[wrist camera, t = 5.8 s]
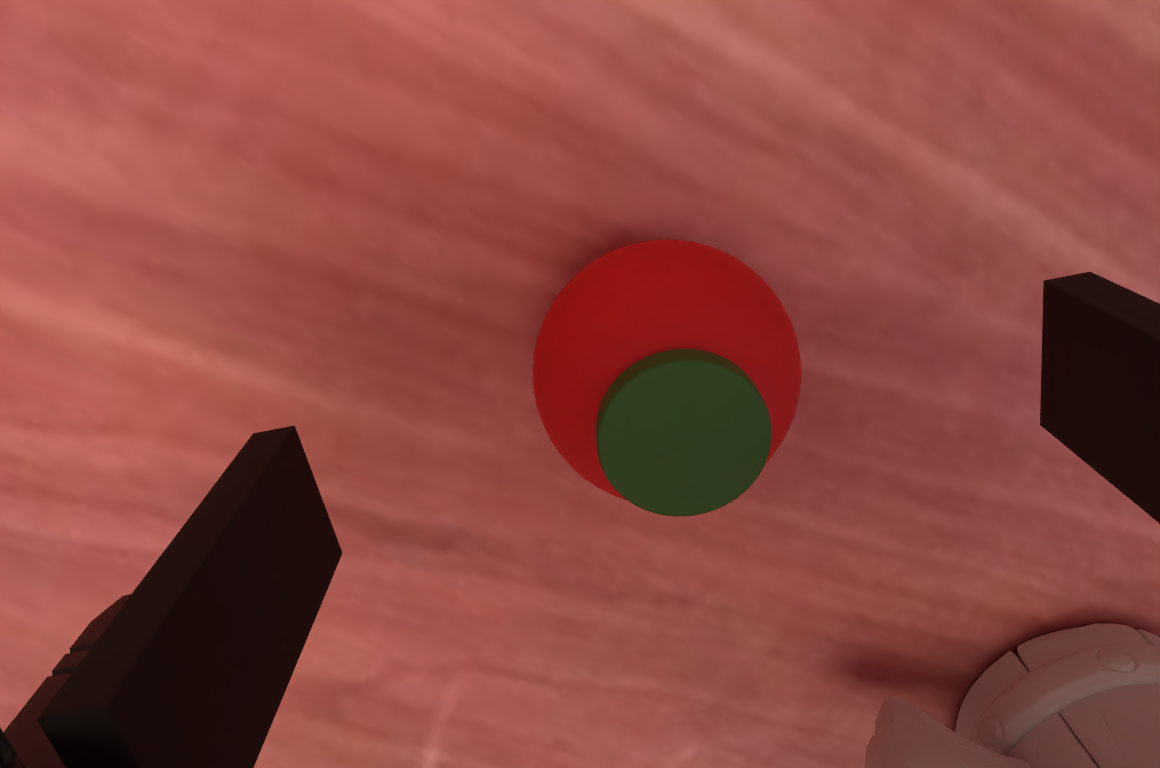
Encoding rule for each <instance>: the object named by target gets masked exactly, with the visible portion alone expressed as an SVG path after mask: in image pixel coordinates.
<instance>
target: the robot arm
mask: <svg viewBox="0 0 1160 768" xmlns="http://www.w3.org/2000/svg"><path fill="white" fill-rule="evenodd" d="M1040 425H1041V426H1042V427H1043V428H1045V429H1046V430H1047V431H1048V432H1049V433H1051V434H1052V435H1053V436H1054V437H1055V438H1057V439H1058V440H1059V441H1060V442H1061V443H1063V444H1064V445H1065V446H1066V447H1068V448H1069V449H1070V450H1071V451H1072V452H1074V453H1075V454H1076V455H1077V456H1078V457H1080V458H1081V459H1082V460H1083V461H1085V462H1086V463H1087V464H1088V465H1089V466H1091V467H1092V468H1093V469H1094V470H1095V471H1097V472H1098V473H1099V474H1100V475H1101V476H1103V477H1104V478H1105V479H1106V480H1108V481H1109V482H1110V483H1111V484H1112V485H1114V486H1115V487H1116V488H1117V489H1118V490H1120V491H1121V492H1122V493H1123V494H1125V495H1126V496H1127V497H1128V498H1129V499H1131V500H1132V501H1133V502H1134V503H1135V504H1137V505H1138V506H1139V507H1140V508H1141V509H1143V510H1144V511H1145V512H1146V513H1148V514H1149V515H1150V516H1151V517H1152V518H1154V519H1155V520H1156V521H1157V522H1158V523H1160V304H1159V303H1157V302H1155V301H1152V300H1150V299H1148V298H1146V297H1144V296H1141V295H1139V294H1137V293H1135V292H1133V291H1131V290H1128V289H1126V288H1124V287H1122V286H1120V285H1117V284H1115V283H1113V282H1111V281H1109V280H1107V279H1104V278H1102V277H1100V276H1098V275H1096V274H1094V273H1091V272H1086V273H1081V274H1076V275H1071V276H1066V277H1061V278H1055V279H1050V280H1045V281H1044V289H1043V330H1042V371H1041V412H1040ZM341 555H342V551H341V548H340V545H339V543H338V540H337V537H336V535H335V532H334V529H333V527H332V524H331V521H330V519H329V516H328V513H327V511H326V508H325V505H324V503H323V500H322V497H321V495H320V492H319V489H318V487H317V484H316V481H315V479H314V476H313V473H312V471H311V468H310V465H309V463H308V460H307V457H306V455H305V452H304V449H303V447H302V444H301V441H300V439H299V436H298V433H297V431H296V428H295V426H290V427H285V428H280V429H274V430H269V431H264V432H259V433H254V434H253V435H252V436H251V437H250V439H249V440H248V441H247V442H246V444H245V445H244V446H243V448H242V449H241V450H240V452H239V453H238V454H237V456H236V457H235V458H234V460H233V461H232V462H231V464H230V465H229V466H228V468H227V469H226V470H225V472H224V473H223V474H222V476H221V477H220V478H219V479H218V481H217V482H216V483H215V485H214V486H213V487H212V489H211V490H210V491H209V493H208V494H207V495H206V497H205V498H204V499H203V501H202V502H201V503H200V505H199V506H198V507H197V509H196V510H195V511H194V512H193V514H192V515H191V516H190V518H189V519H188V520H187V522H186V523H185V524H184V526H183V527H182V528H181V530H180V531H179V532H178V534H177V535H176V536H175V538H174V539H173V540H172V542H171V543H170V544H169V546H168V547H167V548H166V549H165V551H164V552H163V553H162V555H161V556H160V557H159V559H158V560H157V561H156V563H155V564H154V565H153V567H152V568H151V569H150V571H149V572H148V573H147V575H146V576H145V577H144V579H143V580H142V581H141V583H140V584H139V585H138V586H137V588H136V589H135V590H134V592H133V593H132V594H130V595H125V596H122V597H121V598H120V599H119V600H117V601H116V602H115V603H114V604H112V605H111V606H110V607H109V608H107V609H106V610H105V611H104V612H102V613H101V614H100V615H99V616H97V617H96V618H95V619H94V620H93V621H91V622H90V624H89V625H88V626H87V627H86V629H85V630H84V631H83V633H82V634H81V635H80V636H79V638H78V639H77V640H76V641H75V643H74V644H73V645H72V646H71V648H70V653H69V654H65V655H64V657H63V658H62V659H61V660H60V662H59V663H58V664H57V665H56V667H55V668H54V669H53V671H52V673H53V674H52V676H50V677H47V678H46V679H45V681H44V682H43V683H42V684H41V686H40V687H39V688H38V689H37V691H36V692H35V693H34V695H33V696H32V697H31V698H30V700H29V701H28V702H27V703H26V705H25V706H24V707H23V708H22V710H21V711H20V712H19V714H18V715H17V716H16V717H15V719H14V720H13V721H12V722H11V724H10V725H9V726H8V727H7V729H6V730H5V731H4V733H3V731H2V730H1V728H0V768H254V765H255V763H256V760H257V758H258V756H259V753H260V751H261V748H262V746H263V743H264V741H265V739H266V736H267V734H268V731H269V729H270V727H271V724H272V722H273V719H274V717H275V715H276V712H277V710H278V707H279V705H280V702H281V700H282V698H283V695H284V693H285V690H286V688H287V686H288V683H289V681H290V678H291V676H292V674H293V671H294V669H295V666H296V664H297V661H298V659H299V657H300V654H301V652H302V649H303V647H304V645H305V642H306V640H307V637H308V635H309V632H310V630H311V628H312V625H313V623H314V620H315V618H316V616H317V613H318V611H319V608H320V606H321V604H322V601H323V599H324V596H325V594H326V591H327V589H328V587H329V584H330V582H331V579H332V577H333V575H334V572H335V570H336V567H337V565H338V563H339V560H340V558H341Z"/></svg>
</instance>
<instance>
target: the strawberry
mask: <svg viewBox="0 0 1160 768" xmlns="http://www.w3.org/2000/svg"><path fill="white" fill-rule="evenodd" d="M800 384H801V361H800V354H799V349H798V343H797V338H796V335H795V332H794V329H793V326H792V323H791V321H790V319H789V317H788V315H787V313H786V311H785V309H784V307H783V305H782V303H781V302H780V300H779V299H778V298H777V296H776V295H775V293H774V292H773V290H772V289H771V288H770V287H769V286H768V285H767V284H766V283H765V282H764V280H763V279H762V278H761V277H760V276H759V275H757V274H756V273H755V272H754V271H753V270H751V269H750V268H749V267H748V266H746V265H745V264H744V263H742V262H741V261H739V260H738V259H736V258H734V257H732V256H731V255H729V254H727V253H725V252H722V251H720V250H718V249H715V248H713V247H710V246H706V245H702V244H698V243H695V242H689V241H681V240H652V241H644V242H639V243H635V244H631V245H627V246H624V247H621V248H619V249H616V250H614V251H612V252H609V253H607V254H605V255H604V256H602V257H600V258H598V259H597V260H595V261H593V262H592V263H590V264H589V265H588V266H586V267H585V268H584V269H582V270H581V271H580V272H579V273H578V274H577V275H576V276H575V277H574V278H573V279H572V280H571V281H570V282H569V283H568V284H567V285H566V286H565V287H564V288H563V290H562V291H561V292H560V293H559V295H558V296H557V297H556V299H555V300H554V302H553V304H552V305H551V307H550V309H549V310H548V312H547V314H546V316H545V319H544V321H543V324H542V326H541V328H540V332H539V335H538V339H537V343H536V347H535V352H534V360H533V386H534V394H535V399H536V405H537V408H538V411H539V414H540V418H541V420H542V423H543V425H544V427H545V429H546V431H547V433H548V436H549V438H550V440H551V441H552V443H553V444H554V446H555V447H556V449H557V450H558V452H559V453H560V454H561V455H562V457H563V458H564V459H565V460H566V461H567V462H568V463H569V464H570V466H571V467H572V468H573V469H574V470H575V471H576V472H578V473H579V474H580V475H581V476H582V477H583V478H585V479H586V480H587V481H589V482H590V483H592V484H593V485H595V486H596V487H598V488H600V489H602V490H604V491H606V492H608V493H610V494H612V495H614V496H616V497H619V498H622V499H625V500H627V501H630V502H631V503H633V504H634V505H636V506H638V507H640V508H642V509H644V510H647V511H650V512H653V513H657V514H661V515H667V516H692V515H699V514H703V513H707V512H710V511H713V510H716V509H718V508H720V507H722V506H724V505H726V504H728V503H730V502H731V501H733V500H735V499H736V498H738V497H739V496H740V495H741V494H742V493H744V492H745V491H746V490H747V489H748V488H749V487H750V486H751V485H752V484H753V482H754V481H755V480H756V478H757V477H758V476H759V474H760V472H761V471H762V469H763V467H764V465H765V463H766V462H767V461H768V460H769V459H770V457H771V456H772V455H773V453H774V452H775V451H776V449H777V448H778V447H779V445H780V444H781V442H782V440H783V438H784V437H785V435H786V433H787V431H788V429H789V427H790V425H791V422H792V420H793V417H794V414H795V410H796V406H797V402H798V398H799V392H800Z"/></svg>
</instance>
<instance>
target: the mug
mask: <svg viewBox="0 0 1160 768" xmlns="http://www.w3.org/2000/svg"><path fill="white" fill-rule="evenodd" d="M1017 651H1018V654H1019V657H1020V658H1019V657H1018V656H1016V655H1015V654H1014V653H1013V652H1012V651H1009V652H1007V653H1006V654H1005V655H1003V656H1002V657H1001V658H1000V659H998V660H997V661H996V662H995V663H993V664H992V665H991V666H990V667H988V668H987V669H986V670H985V671H984V672H983V674H982V675H981V676H980V677H979V678H978V679H977V681H976V682H975V683H974V684H973V685H972V687H971V688H970V689H969V691H968V693H967V695H966V696H965V698H964V700H963V702H962V705H961V708H960V711H959V714H958V717H957V723H956V728H955V732H954V731H952V730H951V729H949V728H948V727H946V726H945V725H943V724H942V723H940V722H939V721H938V720H936V719H935V718H934V717H932V716H931V715H930V714H928V713H927V712H925V711H924V710H922V709H921V708H919V707H917V706H915V705H914V704H912V703H910V702H909V701H907V700H906V699H904V698H901V697H897V696H890V697H887V698H885V700H884V702H883V704H882V706H881V708H880V710H879V713H878V715H877V718H876V722H875V734H874V735H873V736H872V738H871V740H870V742H869V744H868V746H867V749H866V768H1160V637H1159V636H1157V635H1155V634H1153V633H1150V632H1148V631H1144V630H1142V629H1137V630H1135V629H1133V628H1131V627H1130V626H1127V625H1121V624H1110V623H1106V624H1101V623H1094V624H1091V625H1088V626H1083V627H1076V628H1069V629H1064V630H1060V631H1056V632H1052V633H1049V634H1045V635H1042V636H1038V637H1035V638H1033V639H1031V640H1029V641H1027V642H1025V643H1023V644H1021V645H1019V646H1018V648H1017Z"/></svg>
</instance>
